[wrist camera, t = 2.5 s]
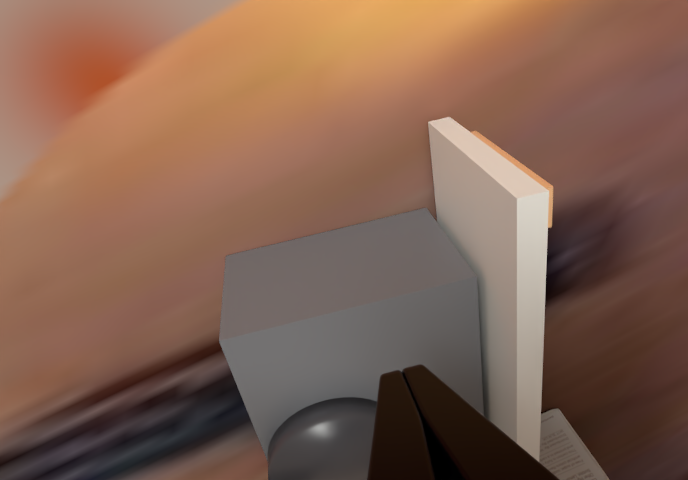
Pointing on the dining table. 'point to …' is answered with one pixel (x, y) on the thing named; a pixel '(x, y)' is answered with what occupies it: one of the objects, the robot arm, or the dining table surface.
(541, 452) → the supplement box
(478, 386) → the camera case
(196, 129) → the dining table surface
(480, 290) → the side door
